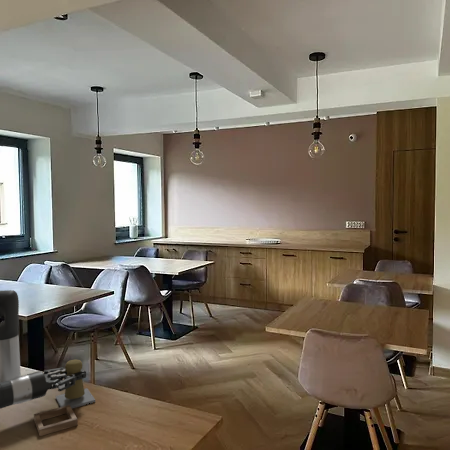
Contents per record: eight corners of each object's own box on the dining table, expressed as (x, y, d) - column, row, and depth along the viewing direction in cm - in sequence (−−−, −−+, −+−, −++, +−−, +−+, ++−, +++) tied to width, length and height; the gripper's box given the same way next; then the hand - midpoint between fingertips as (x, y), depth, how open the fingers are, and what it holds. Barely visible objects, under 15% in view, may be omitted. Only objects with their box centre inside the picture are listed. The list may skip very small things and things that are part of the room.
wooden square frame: (34, 420, 124) (33, 414, 124) (69, 410, 129) (69, 404, 129) (39, 436, 115) (39, 429, 115) (77, 425, 121) (77, 419, 121)
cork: (78, 388, 140) (77, 356, 139) (88, 393, 136) (87, 360, 135) (61, 395, 135) (59, 361, 135) (71, 400, 131) (70, 366, 131)
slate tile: (55, 398, 137) (55, 395, 137) (87, 390, 143) (87, 388, 143) (62, 411, 129) (62, 408, 129) (95, 402, 134) (95, 399, 134)
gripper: (34, 382, 120) (92, 366, 132) (18, 368, 131) (73, 354, 142) (35, 408, 121) (92, 390, 132) (19, 392, 131) (74, 376, 143)
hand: (82, 371), depth 137 cm, fingers closed on cork, 4 cm apart
